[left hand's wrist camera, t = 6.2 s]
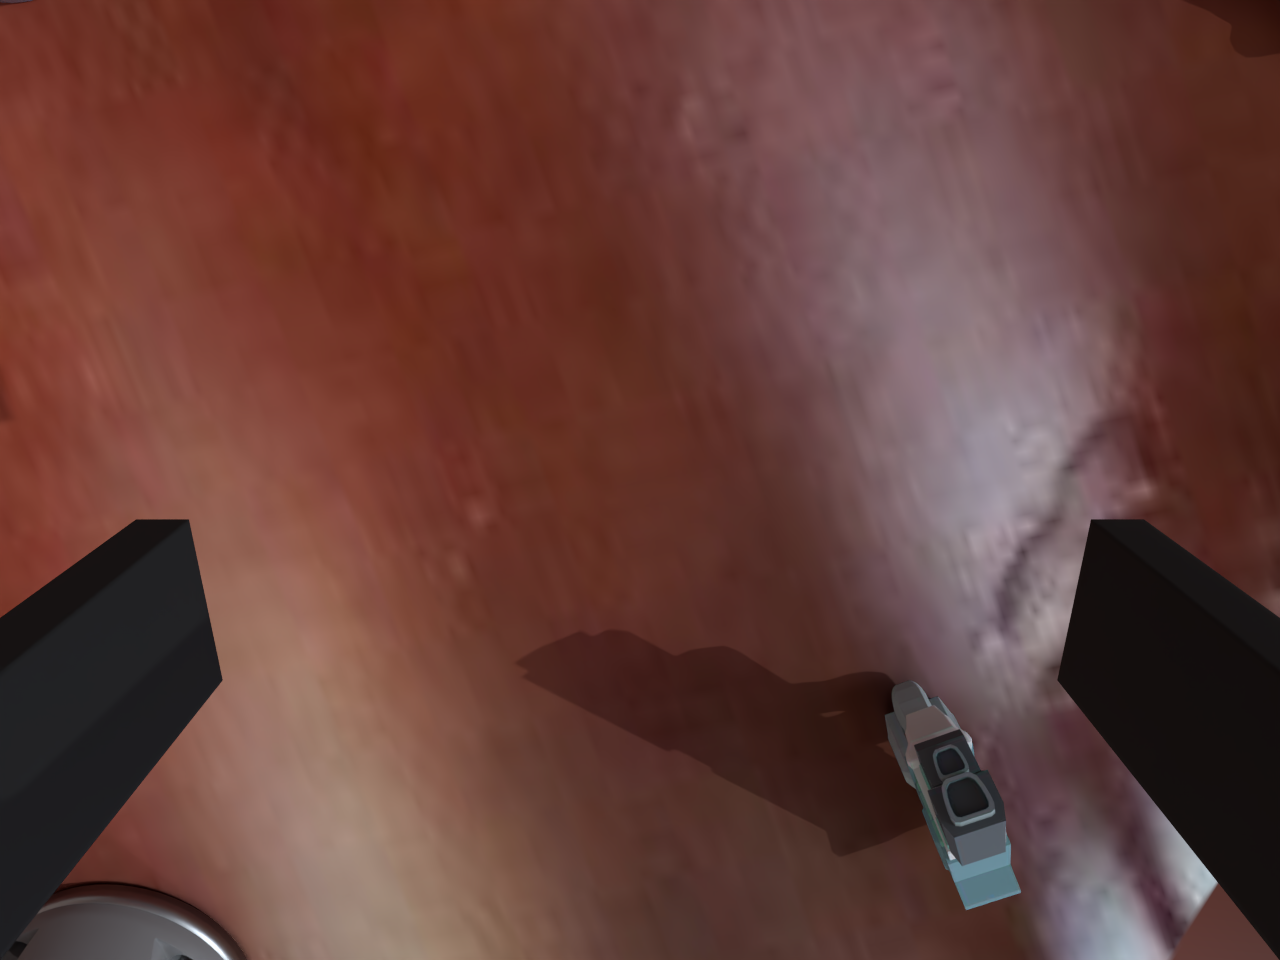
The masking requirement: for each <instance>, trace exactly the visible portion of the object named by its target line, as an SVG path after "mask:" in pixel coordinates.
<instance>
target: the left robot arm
mask: <svg viewBox="0 0 1280 960" xmlns="http://www.w3.org/2000/svg"><path fill="white" fill-rule="evenodd" d="M221 682H222V675H221V670H220V666H219V661H218V656H217V651H216V647H215V642H214V637H213V632H212V628H211V623H210V618H209V613H208V608H207V604H206V599H205V594H204V589H203V585H202V580H201V575H200V570H199V566H198V561H197V556H196V551H195V547H194V542H193V537H192V532H191V528H190V523H189V520H135V521H133V522H132V523H131V524H129V525H128V526H127V527H125V528H124V529H122V530H121V531H120V532H118V533H117V534H115V535H114V536H113V537H111V538H110V539H109V540H107V541H106V542H104V543H103V544H102V545H100V546H99V547H98V548H96V549H95V550H93V551H92V552H91V553H89V554H88V555H87V556H85V557H84V558H82V559H81V560H80V561H78V562H77V563H75V564H74V565H73V566H71V567H70V568H69V569H67V570H66V571H64V572H63V573H62V574H60V575H59V576H58V577H56V578H55V579H53V580H52V581H51V582H49V583H48V584H46V585H45V586H44V587H42V588H41V589H40V590H38V591H37V592H35V593H34V594H33V595H31V596H30V597H29V598H27V599H26V600H24V601H23V602H22V603H20V604H19V605H17V606H16V607H15V608H13V609H12V610H11V611H9V612H8V613H6V614H5V615H4V616H2V617H1V618H0V960H1V959H2V957H3V956H4V955H5V954H6V952H7V951H8V950H9V948H10V947H11V946H12V945H13V943H14V942H15V941H16V940H17V938H18V937H19V936H20V935H21V933H22V932H23V931H24V930H25V928H26V927H27V926H28V925H29V923H30V922H31V921H32V920H33V918H34V917H35V916H36V914H37V913H38V912H39V911H40V909H41V908H42V907H43V906H44V904H45V903H46V902H47V901H48V899H49V898H50V897H51V896H52V894H53V893H54V892H55V891H56V889H57V888H58V887H59V886H60V884H61V883H62V882H63V880H64V879H65V878H66V877H67V875H68V874H69V873H70V872H71V870H72V869H73V868H74V867H75V865H76V864H77V863H78V862H79V860H80V859H81V858H82V857H83V855H84V854H85V853H86V852H87V850H88V849H89V848H90V846H91V845H92V844H93V843H94V841H95V840H96V839H97V838H98V836H99V835H100V834H101V833H102V831H103V830H104V829H105V828H106V826H107V825H108V824H109V823H110V821H111V820H112V819H113V818H114V816H115V815H116V814H117V813H118V811H119V810H120V809H121V807H122V806H123V805H124V804H125V802H126V801H127V800H128V799H129V797H130V796H131V795H132V794H133V792H134V791H135V790H136V789H137V787H138V786H139V785H140V784H141V782H142V781H143V780H144V779H145V777H146V776H147V775H148V773H149V772H150V771H151V770H152V768H153V767H154V766H155V765H156V763H157V762H158V761H159V760H160V758H161V757H162V756H163V755H164V753H165V752H166V751H167V750H168V748H169V747H170V746H171V745H172V743H173V742H174V741H175V739H176V738H177V737H178V736H179V734H180V733H181V732H182V731H183V729H184V728H185V727H186V726H187V724H188V723H189V722H190V721H191V719H192V718H193V717H194V716H195V714H196V713H197V712H198V711H199V709H200V708H201V707H202V705H203V704H204V703H205V702H206V700H207V699H208V698H209V697H210V695H211V694H212V693H213V692H214V690H215V689H216V688H217V687H218V685H219V684H220V683H221ZM1058 682H1059V683H1060V684H1061V685H1062V687H1063V688H1064V689H1065V690H1066V692H1067V693H1068V694H1069V695H1070V697H1071V698H1072V699H1073V700H1074V702H1075V703H1076V704H1077V705H1078V707H1079V708H1080V709H1081V711H1082V712H1083V713H1084V714H1085V716H1086V717H1087V718H1088V719H1089V721H1090V722H1091V723H1092V724H1093V726H1094V727H1095V728H1096V729H1097V731H1098V732H1099V733H1100V734H1101V736H1102V737H1103V738H1104V739H1105V741H1106V742H1107V743H1108V745H1109V746H1110V747H1111V748H1112V750H1113V751H1114V752H1115V753H1116V755H1117V756H1118V757H1119V758H1120V760H1121V761H1122V762H1123V763H1124V765H1125V766H1126V767H1127V768H1128V770H1129V771H1130V772H1131V773H1132V775H1133V776H1134V777H1135V779H1136V780H1137V781H1138V782H1139V784H1140V785H1141V786H1142V787H1143V789H1144V790H1145V791H1146V792H1147V794H1148V795H1149V796H1150V797H1151V799H1152V800H1153V801H1154V802H1155V804H1156V805H1157V806H1158V807H1159V809H1160V810H1161V811H1162V813H1163V814H1164V815H1165V816H1166V818H1167V819H1168V820H1169V821H1170V823H1171V824H1172V825H1173V826H1174V828H1175V829H1176V830H1177V831H1178V833H1179V834H1180V835H1181V836H1182V838H1183V839H1184V840H1185V841H1186V843H1187V844H1188V845H1189V846H1190V848H1191V849H1192V850H1193V852H1194V853H1195V854H1196V855H1197V857H1198V858H1199V859H1200V860H1201V862H1202V863H1203V864H1204V865H1205V867H1206V868H1207V869H1208V870H1209V872H1210V873H1211V874H1212V875H1213V877H1214V878H1215V879H1216V880H1217V882H1218V883H1219V884H1220V886H1221V887H1222V888H1223V889H1224V891H1225V892H1226V893H1227V894H1228V896H1229V897H1230V898H1231V899H1232V901H1233V902H1234V903H1235V904H1236V906H1237V907H1238V908H1239V909H1240V911H1241V912H1242V913H1243V914H1244V916H1245V917H1246V918H1247V920H1248V921H1249V922H1250V923H1251V925H1252V926H1253V927H1254V928H1255V930H1256V931H1257V932H1258V933H1259V935H1260V936H1261V937H1262V938H1263V940H1264V941H1265V942H1266V943H1267V945H1268V946H1269V947H1270V948H1271V950H1272V951H1273V952H1274V954H1275V955H1276V956H1277V957H1278V959H1279V960H1280V618H1279V617H1278V616H1276V615H1275V614H1274V613H1272V612H1271V611H1269V610H1268V609H1267V608H1265V607H1264V606H1263V605H1261V604H1260V603H1258V602H1257V601H1256V600H1254V599H1253V598H1251V597H1250V596H1249V595H1247V594H1246V593H1245V592H1243V591H1242V590H1240V589H1239V588H1238V587H1236V586H1235V585H1234V584H1232V583H1231V582H1229V581H1228V580H1227V579H1225V578H1224V577H1222V576H1221V575H1220V574H1218V573H1217V572H1216V571H1214V570H1213V569H1211V568H1210V567H1209V566H1207V565H1206V564H1205V563H1203V562H1202V561H1200V560H1199V559H1198V558H1196V557H1195V556H1193V555H1192V554H1191V553H1189V552H1188V551H1187V550H1185V549H1184V548H1182V547H1181V546H1180V545H1178V544H1177V543H1176V542H1174V541H1173V540H1171V539H1170V538H1169V537H1167V536H1166V535H1165V534H1163V533H1162V532H1160V531H1159V530H1158V529H1156V528H1155V527H1153V526H1152V525H1151V524H1149V523H1148V522H1147V521H1145V520H1091V523H1090V528H1089V532H1088V537H1087V542H1086V547H1085V551H1084V556H1083V561H1082V566H1081V570H1080V575H1079V580H1078V585H1077V589H1076V594H1075V599H1074V604H1073V608H1072V613H1071V618H1070V623H1069V628H1068V632H1067V637H1066V642H1065V647H1064V651H1063V656H1062V661H1061V666H1060V670H1059V675H1058Z"/></svg>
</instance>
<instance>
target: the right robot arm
mask: <svg viewBox="0 0 1280 960" xmlns="http://www.w3.org/2000/svg"><path fill="white" fill-rule="evenodd" d="M1 960H247V959H246V957H245V955H244V954H243V952H242V950H241V949H240V947H239V946H238V944H237V943H236V942H235V941H234V939H233V938H232V937H231V936H230V935H229V934H228V933H227V932H226V931H225V930H224V929H223V928H222V927H221V926H220V925H219V924H217V923H216V922H215V921H214V920H212V919H211V918H210V917H208V916H207V915H205V914H204V913H202V912H201V911H199V910H197V909H196V908H194V907H192V906H190V905H188V904H186V903H184V902H182V901H180V900H178V899H175V898H173V897H170V896H167V895H165V894H162V893H159V892H155V891H151V890H147V889H143V888H138V887H133V886H124V885H110V884H103V885H87V886H80V887H75V888H70V889H67V890H63V891H60V892H58V893H55V894H53V895H52V896H51V897H50V898H49V899H48V901H47V902H46V903H45V904H44V906H43V907H42V908H41V909H40V911H39V912H38V913H37V914H36V916H35V917H34V918H33V920H32V921H31V922H30V923H29V925H28V926H27V927H26V928H25V930H24V931H23V932H22V933H21V935H20V936H19V937H18V938H17V940H16V941H15V942H14V943H13V945H12V946H11V947H10V948H9V950H8V951H7V952H6V954H5V955H4V956H3V957H2V959H1Z"/></svg>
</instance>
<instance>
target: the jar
mask: <svg viewBox="0 0 1280 960" xmlns="http://www.w3.org/2000/svg"><path fill="white" fill-rule="evenodd" d="M26 1H31V0H0V2H3V3H17V2H26Z"/></svg>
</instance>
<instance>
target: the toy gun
mask: <svg viewBox="0 0 1280 960" xmlns="http://www.w3.org/2000/svg"><path fill="white" fill-rule="evenodd" d="M892 702H893V707H894V712H892V713H889V714H886V715H885V719H886V725H887V732H888V740H889V742H890V744H891V747H892V749H893V751H894V754H895V756H896V759H897V761H898V763H899V766H900V768H901V770H902V773H903V775H904V778H905V780H906V782H907V783H908V784H910V785H911V786H912V787H914V788H915V789H916V790H917V793H918V795H919V798H920V800H921V803H922V805H923V810H922V812H923V815H924V817H925V820H926V822H927V825H928V827H929V830H930V832H931V835H932V838H933V840H934V843H935V845H936V848H937V850H938V852H939V855H940V857H941V859H942V862H943V864H944V866H945V869H947V870H949V871H950V873H951V876H952V878H953V880H954V883H955V885H956V887H957V890H958V892H959V894H960V897H961V899H962V901H963V904H964V906H965V908H966V910H968V909H971V908H974V907H977V906H980V905H983V904H986V903H990V902H993V901H996V900H999V899H1002V898H1005V897H1008V896H1012V895H1015V894H1018V893H1021V891H1020V888H1019V885H1018V883H1017V880H1016V878H1015V875H1014V873H1013V870H1012V867H1011V864H1010V856H1011V843H1010V841H1009V839H1008V836H1007V834H1006V818H1005V811H1004V803H1003V801H1002V799H1001V797H1000V794H999V792H998V790H997V788H996V786H995V784H994V782H993V780H992V778H991V776H990V774H989V772H988V770H985V771H981V770H980V768H979V766H978V764H977V761H976V759H975V757H974V750H973V743H972V739H971V737H970V736H969V735H968V734H967V732H965V731H963V730H961V728H960V726H959V724H958V722H957V721H956V719H955V717H954V715H953V714H952V713H951V712H950V711H949V710H948V709H947V707H946V706H945V705H944V703H943V702H942V701H941V700H940V698H939V697H938V696H937V697H934V698H931V699H928V697H927V695H926V694H925V692H924V691H923V689H922V688H921V687H920V686H919V685H918V684H917V683H916V682H914V681H911V680H909V681H906V682H903V683H901V684H898V685H895V686H894V688H893V690H892ZM904 734H906V737H905V735H904ZM906 738H907V739H906Z"/></svg>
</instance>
